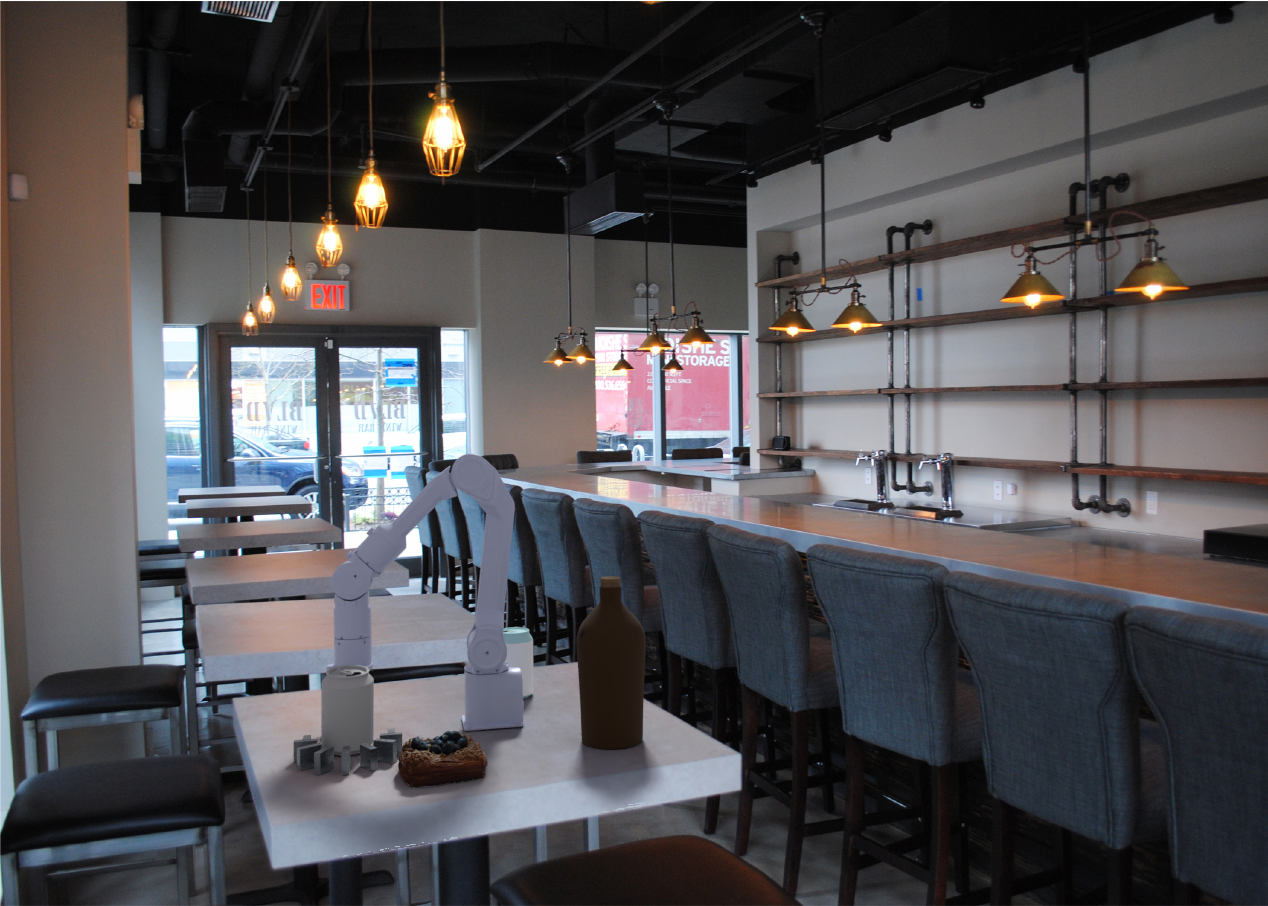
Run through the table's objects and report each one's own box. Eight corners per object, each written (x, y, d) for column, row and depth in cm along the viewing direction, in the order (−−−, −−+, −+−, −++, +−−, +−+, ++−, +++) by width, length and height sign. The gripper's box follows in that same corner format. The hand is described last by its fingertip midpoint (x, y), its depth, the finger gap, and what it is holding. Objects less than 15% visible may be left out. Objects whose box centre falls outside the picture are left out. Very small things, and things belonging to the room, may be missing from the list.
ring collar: (402, 747, 144) (402, 727, 144) (401, 770, 134) (401, 748, 134) (296, 756, 141) (296, 735, 141) (287, 779, 131) (287, 757, 131)
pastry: (393, 767, 136) (392, 726, 136) (476, 756, 141) (476, 716, 141) (404, 793, 126) (404, 749, 126) (494, 781, 131) (493, 738, 130)
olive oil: (625, 755, 140) (623, 584, 139) (564, 745, 145) (562, 580, 145) (658, 735, 149) (657, 575, 149) (600, 726, 154) (598, 571, 154)
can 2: (499, 703, 169) (498, 635, 169) (490, 693, 175) (489, 628, 175) (538, 698, 171) (537, 631, 171) (527, 689, 178) (527, 625, 178)
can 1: (355, 760, 139) (355, 679, 138) (310, 753, 141) (310, 674, 140) (383, 742, 146) (383, 665, 145) (340, 736, 148) (340, 660, 147)
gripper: (330, 629, 159) (331, 711, 159) (322, 647, 145) (323, 736, 145) (374, 627, 160) (375, 707, 160) (370, 644, 146) (372, 733, 146)
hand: (354, 721), depth 153 cm, fingers open, 7 cm apart
